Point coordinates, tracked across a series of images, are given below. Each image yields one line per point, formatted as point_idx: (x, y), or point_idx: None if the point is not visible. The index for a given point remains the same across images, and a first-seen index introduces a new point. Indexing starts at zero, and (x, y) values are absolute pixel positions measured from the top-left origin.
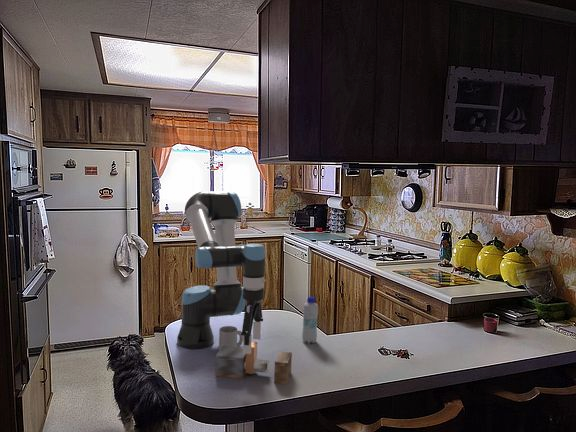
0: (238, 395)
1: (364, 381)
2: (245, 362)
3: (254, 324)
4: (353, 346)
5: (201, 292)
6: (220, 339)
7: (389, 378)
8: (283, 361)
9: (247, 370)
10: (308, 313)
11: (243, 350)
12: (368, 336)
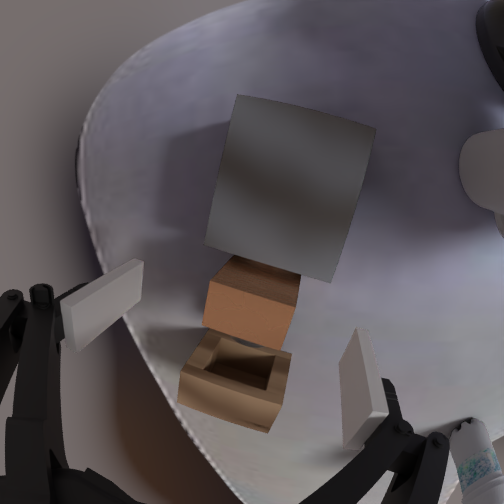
0: (129, 213)
1: (233, 476)
2: None
3: (365, 403)
4: None
5: None
6: (499, 131)
7: (246, 497)
8: (187, 395)
9: None
10: (473, 499)
11: (124, 265)
12: None
